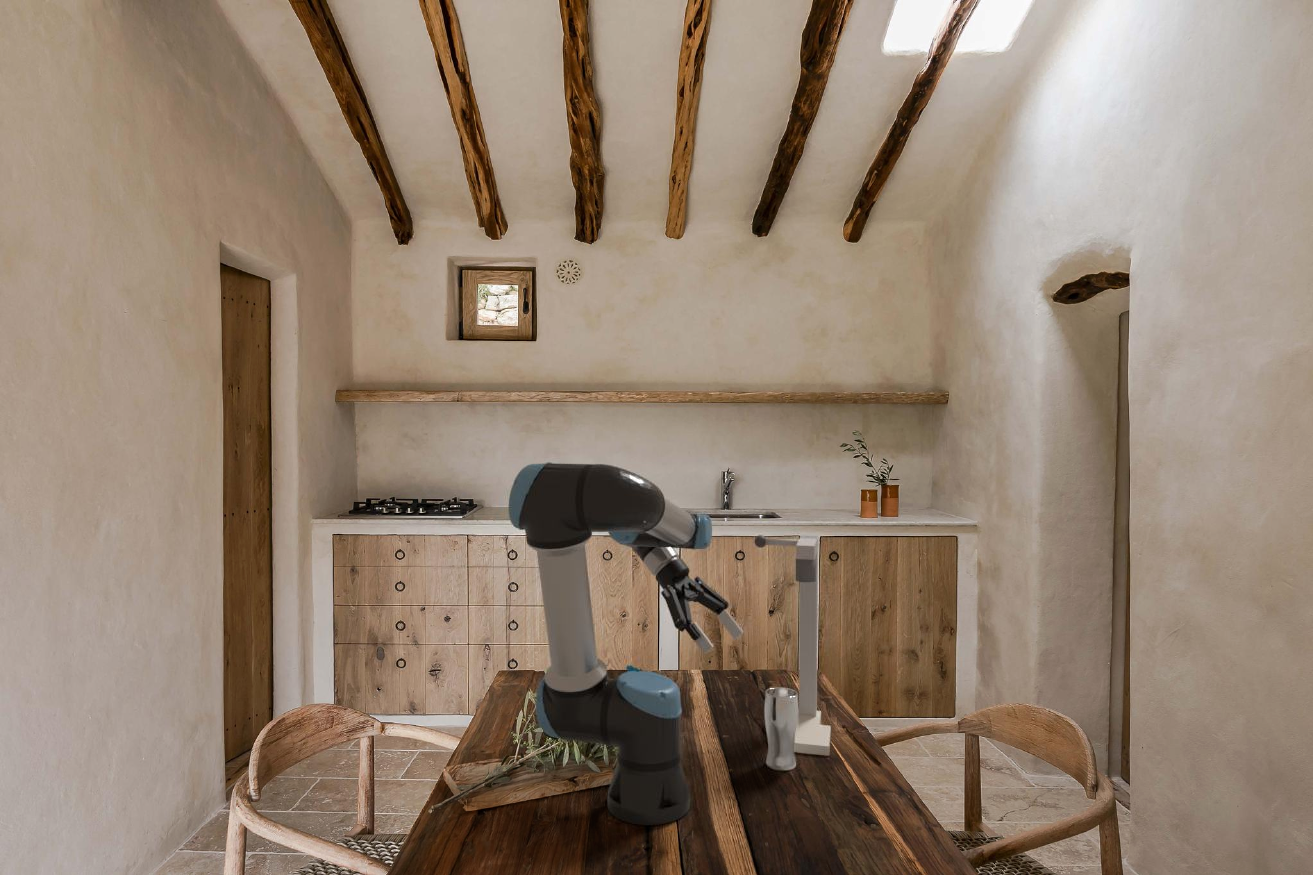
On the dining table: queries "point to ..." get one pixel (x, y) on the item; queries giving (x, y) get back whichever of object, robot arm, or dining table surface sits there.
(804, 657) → the stand
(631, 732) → the robot arm
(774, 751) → the beer glass
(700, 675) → the dining table surface
